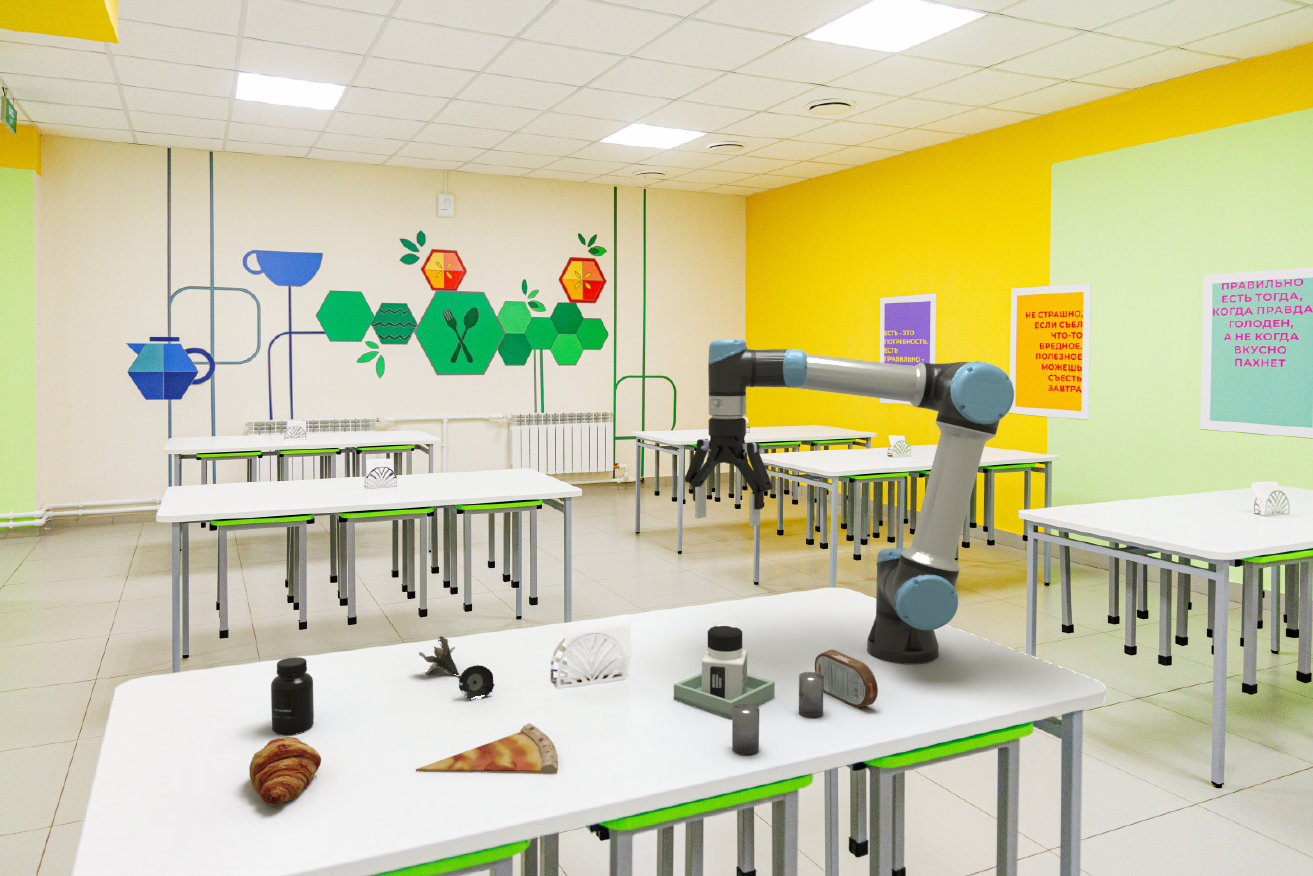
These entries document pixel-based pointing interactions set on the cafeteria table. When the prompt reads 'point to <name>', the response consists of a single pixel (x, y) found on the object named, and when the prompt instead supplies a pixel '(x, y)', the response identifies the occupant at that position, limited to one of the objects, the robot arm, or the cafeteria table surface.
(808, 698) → the post
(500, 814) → the cafeteria table surface
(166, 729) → the cafeteria table surface
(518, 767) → the pizza slice
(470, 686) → the artificial flower
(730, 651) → the container
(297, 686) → the supplement bottle
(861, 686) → the tin
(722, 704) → the tray
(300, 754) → the croissant
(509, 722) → the cafeteria table surface
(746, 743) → the post
